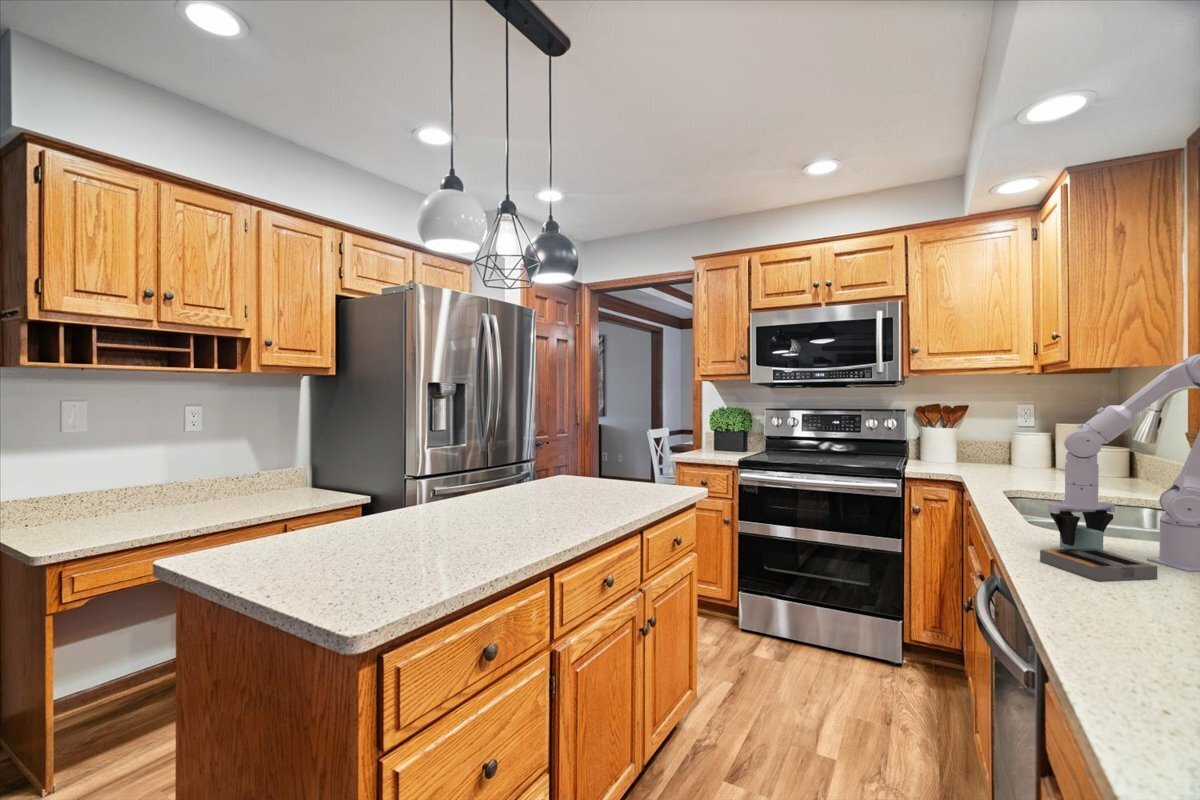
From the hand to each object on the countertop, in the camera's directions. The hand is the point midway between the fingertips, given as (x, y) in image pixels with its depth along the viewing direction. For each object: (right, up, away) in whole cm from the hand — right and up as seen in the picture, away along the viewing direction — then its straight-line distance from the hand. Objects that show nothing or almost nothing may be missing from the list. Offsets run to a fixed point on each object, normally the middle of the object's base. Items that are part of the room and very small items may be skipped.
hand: (1080, 544), depth 127 cm
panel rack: (-8, -2, -13) cm, 15 cm away
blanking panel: (0, -2, 0) cm, 2 cm away
